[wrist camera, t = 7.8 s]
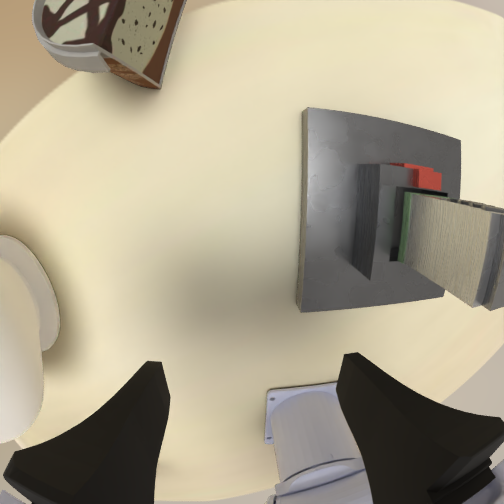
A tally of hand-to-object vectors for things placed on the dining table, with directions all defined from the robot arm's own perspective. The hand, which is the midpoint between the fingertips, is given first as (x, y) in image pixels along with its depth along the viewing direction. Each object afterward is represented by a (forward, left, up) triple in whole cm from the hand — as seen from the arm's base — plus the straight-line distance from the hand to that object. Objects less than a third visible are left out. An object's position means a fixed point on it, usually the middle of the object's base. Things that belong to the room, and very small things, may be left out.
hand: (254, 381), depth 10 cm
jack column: (+5, -11, -5) cm, 13 cm away
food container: (+19, +8, -11) cm, 23 cm away
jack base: (+5, -11, -10) cm, 16 cm away
